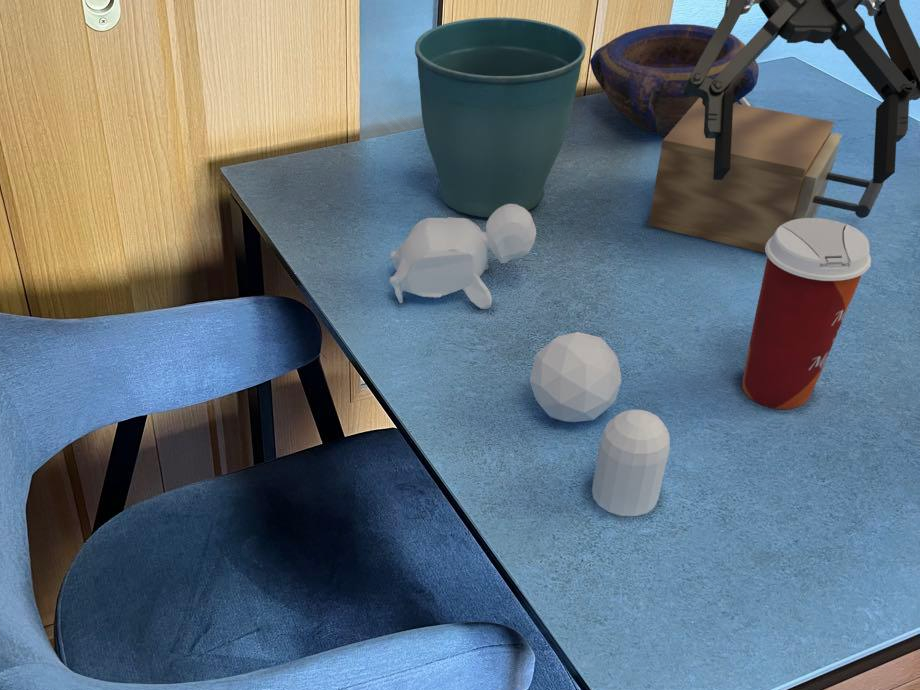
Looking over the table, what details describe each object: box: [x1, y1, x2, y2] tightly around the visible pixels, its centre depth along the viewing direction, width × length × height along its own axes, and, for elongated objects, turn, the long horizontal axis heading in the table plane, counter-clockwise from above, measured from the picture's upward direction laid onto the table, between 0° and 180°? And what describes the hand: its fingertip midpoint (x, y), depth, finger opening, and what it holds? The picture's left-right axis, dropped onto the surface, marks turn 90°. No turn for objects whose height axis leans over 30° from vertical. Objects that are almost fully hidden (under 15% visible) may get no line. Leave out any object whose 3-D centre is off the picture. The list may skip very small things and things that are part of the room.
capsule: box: [591, 409, 671, 517], centre depth 81 cm, size 5×5×8 cm
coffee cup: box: [742, 217, 872, 410], centre depth 88 cm, size 8×8×15 cm
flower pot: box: [414, 16, 587, 218], centre depth 115 cm, size 18×18×17 cm
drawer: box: [792, 132, 884, 220], centre depth 111 cm, size 19×12×8 cm, turn 60°
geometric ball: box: [529, 331, 622, 423], centre depth 89 cm, size 8×8×8 cm
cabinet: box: [647, 98, 835, 254], centre depth 113 cm, size 15×13×10 cm
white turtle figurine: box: [389, 204, 537, 310], centre depth 104 cm, size 9×8×15 cm
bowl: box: [589, 23, 760, 137], centre depth 131 cm, size 18×18×10 cm
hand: (802, 176), depth 89 cm, fingers open, 13 cm apart
